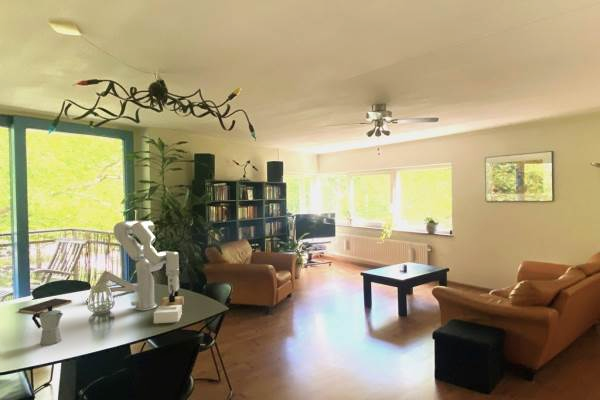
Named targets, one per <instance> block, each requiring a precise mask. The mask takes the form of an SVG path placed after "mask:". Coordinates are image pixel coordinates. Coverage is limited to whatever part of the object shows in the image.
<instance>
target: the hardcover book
mask: <svg viewBox="0 0 600 400" xmlns="http://www.w3.org/2000/svg"><path fill="white" fill-rule="evenodd" d="M72 302H73V300H71V299H64V298H56V297H55V298H52V299H49V300H46V301H42V302H38V303H36V304H31V305H29V306H25V307H22V308H19V309H18V313H19V312H20V313H26V314H27V313H28V314H33V315H34V314H36V313H40V312H41V311H44V312H46V311H48V308H47V306H50V305H53V308H52V310H55V309H57V308H60V307H63V306H66V305H69V304H73V303H72Z"/></svg>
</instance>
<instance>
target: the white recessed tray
mask: <svg viewBox="0 0 600 400" xmlns="http://www.w3.org/2000/svg"><path fill="white" fill-rule="evenodd" d="M155 309H156V310H155V311H154V312H153V324H165V323H166V324H167V323H168V324H169V323H178V322H179V321H180V319H181V317H182V316H181V315H183V306H182V305H169V306H162V305H159V306H157V307H156V308H155Z"/></svg>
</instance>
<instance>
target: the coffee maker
mask: <svg viewBox="0 0 600 400" xmlns="http://www.w3.org/2000/svg"><path fill="white" fill-rule="evenodd" d="M47 308H48V311H45V312H44V311H41V312H40V313H36V314H34V313H33V315H32V317H31V320H32V321H33V323H34V324H35V326H36V327H37V328H38V329H42V331H41V337H40V343H39V344H40V346H42V347H44V346H49V347H50V346H53V345H56V344H59V343H60V342H61V341H62V337H61V332H60V328H59V325H60V320H61V318H62V316H63V315H64V313H62V311H61V310H56V309H52V308H53V305H50V306H47ZM38 319H39V321H38Z"/></svg>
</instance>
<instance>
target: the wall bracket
mask: <svg viewBox="0 0 600 400" xmlns="http://www.w3.org/2000/svg"><path fill="white" fill-rule="evenodd" d="M109 281H110V282H112V283H114V284H115V285H118V286H115V287H113V286H112V287H109V288H110V290H111V293H116V292H124V293H125V292H126V293H129V294H132V293H136V292H138V285H137V286H136V285H135V284H133V283H132V282H129V281H127V280H125V279H123V278H122V277H120V276H117V275H115V274H113V273H111V272H110V271H107V270H103V272H102V273H101V275H100V277H99V279H98V280H97V282H96V284H95V285H94V287H95V286H98V285H106V286H107V284H108V283H109ZM87 300H88V297H87V299H86V300H85V302H86V303H88V302H87Z"/></svg>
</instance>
